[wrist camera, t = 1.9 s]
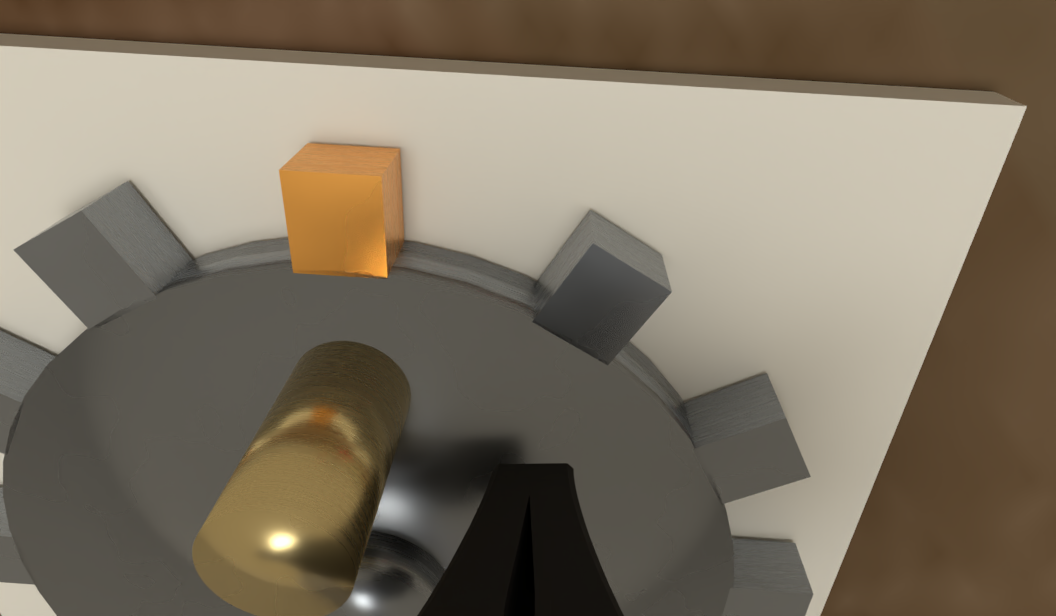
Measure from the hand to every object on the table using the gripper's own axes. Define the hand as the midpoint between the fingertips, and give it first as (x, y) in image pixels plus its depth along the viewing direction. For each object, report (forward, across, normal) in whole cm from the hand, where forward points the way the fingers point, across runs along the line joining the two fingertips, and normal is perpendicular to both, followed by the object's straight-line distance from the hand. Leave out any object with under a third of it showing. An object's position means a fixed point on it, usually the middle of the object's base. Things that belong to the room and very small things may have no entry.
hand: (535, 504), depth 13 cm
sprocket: (+2, +4, +4) cm, 6 cm away
